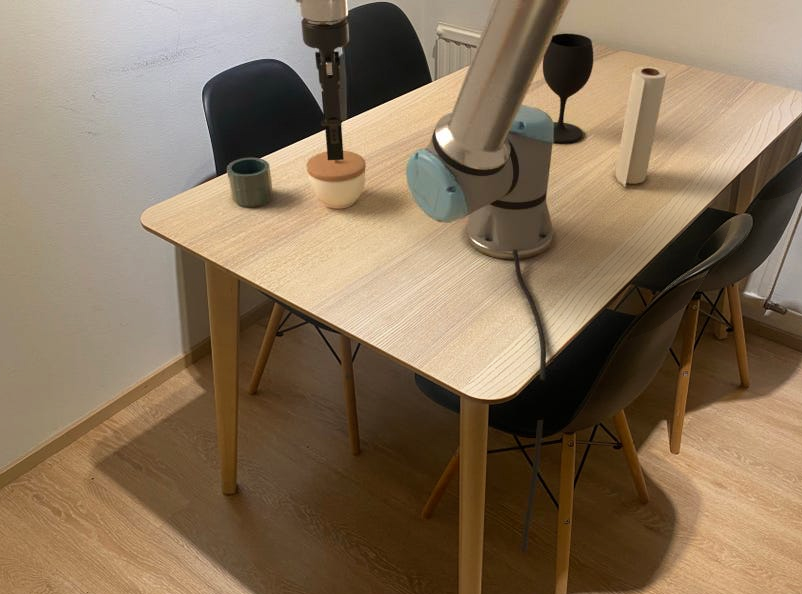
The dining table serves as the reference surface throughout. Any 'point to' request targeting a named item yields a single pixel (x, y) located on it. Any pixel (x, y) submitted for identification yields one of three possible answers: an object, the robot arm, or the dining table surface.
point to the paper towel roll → (640, 124)
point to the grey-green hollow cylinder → (250, 182)
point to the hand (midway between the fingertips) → (333, 142)
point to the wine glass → (567, 76)
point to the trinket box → (337, 179)
